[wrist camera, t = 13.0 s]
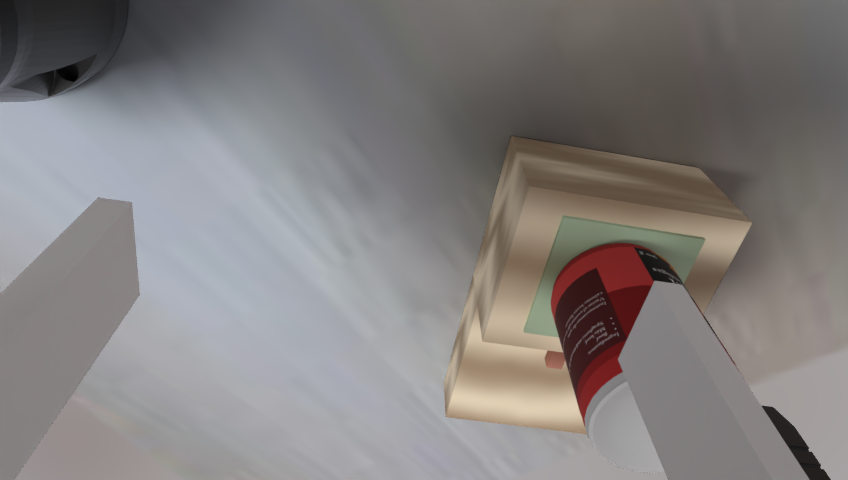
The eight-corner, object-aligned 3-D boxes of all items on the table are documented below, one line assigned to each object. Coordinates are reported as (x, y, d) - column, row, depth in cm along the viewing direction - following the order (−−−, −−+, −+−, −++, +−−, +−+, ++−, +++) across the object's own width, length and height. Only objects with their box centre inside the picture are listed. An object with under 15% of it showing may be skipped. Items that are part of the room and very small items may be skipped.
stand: (591, 401, 55) (617, 478, 48) (444, 382, 53) (447, 459, 46) (699, 167, 43) (755, 225, 36) (511, 135, 41) (530, 188, 34)
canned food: (681, 317, 39) (762, 455, 30) (562, 347, 40) (603, 489, 31) (665, 222, 35) (751, 346, 26) (535, 259, 37) (572, 390, 27)
